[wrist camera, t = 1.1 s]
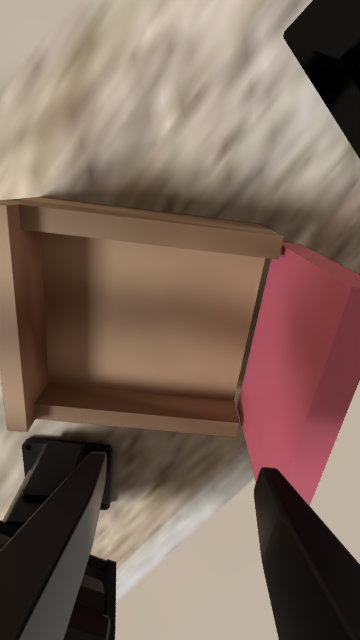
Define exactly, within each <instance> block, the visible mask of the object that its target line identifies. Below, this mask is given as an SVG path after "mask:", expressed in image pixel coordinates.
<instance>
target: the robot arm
mask: <svg viewBox="0 0 360 640" xmlns="http://www.w3.org/2000/svg"><path fill="white" fill-rule="evenodd" d="M30 445H31V446H30ZM22 452H23V462H24V471H25V479H24V481H23V483H22V485H21V487H20V489H19V490H18V492H17V494H16V496H15V498H14V500H13V502H12V504H11V506H10V507H9V509H8V511H7V513H6V515H5V517H4V519H3V521H1V520H0V640H115V612H116V610H115V609H116V606H115V605H116V562H114V561H112V560H109V559H108V560H104V559H101V558H99V557H96V556H93V555H91V554H90V552H91V549H92V545H93V540H94V536H95V531H96V526H97V521H98V516H99V511H100V510H107V509H108V508H109V507H110V502H111V482H112V460H113V449H112V447H110V446H108V445H101V444H89V443H78V442H67V441H56V440H45V439H34V438H28V439H26V440H25V441H24V443H23V445H22ZM105 452H107V453H105ZM254 500H255V509H256V517H257V526H258V534H259V542H260V550H261V558H262V563H263V569H264V574H265V578H266V583H267V587H268V592H269V597H270V600H271V606H272V610H273V615H274V619H275V624H276V628H277V633H278V637H279V640H360V564H359V563H358V562H357V561H356V559H355V558H354V557H353V556H352V555H351V554H350V552H349V551H348V550H347V549H346V548H345V547H344V546H343V544H342V543H341V542H340V541H339V540H338V539H337V538H336V536H335V535H334V534H333V533H332V532H331V531H330V529H329V528H328V527H327V526H326V525H325V524H324V522H323V521H322V520H321V519H320V518H319V517H318V515H317V514H316V513H315V512H314V511H313V510H312V508H311V507H310V506H309V505H308V504H307V503H306V501H305V500H304V499H303V498H302V497H301V496H300V494H299V493H298V492H297V491H296V490H295V489H294V487H293V486H292V485H291V484H290V483H289V482H288V480H287V479H286V478H285V477H284V476H283V475H282V473H281V472H280V471H279V470H278V469H276V468H272V467H262V468H261V469H260V471H259V474H258V478H257V481H256V485H255V489H254Z"/></svg>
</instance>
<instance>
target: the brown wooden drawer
mask: <svg viewBox="0 0 360 640" xmlns="http://www.w3.org/2000/svg"><path fill="white" fill-rule="evenodd" d="M283 239H284V236H283V235H281V234H279V233H277V232H275V231H273V230H271V229H269V228H267V227H265V226H263V225H261V224H256V223H248V222H240V221H232V220H223V219H215V218H207V217H199V216H191V215H183V214H174V213H166V212H158V211H150V210H142V209H133V208H125V207H117V206H109V205H101V204H93V203H84V202H76V201H68V200H60V199H52V198H43V197H33V198H22V199H11V200H0V375H1V383H2V391H3V400H4V408H5V416H6V424H7V430H8V431H19V432H28V430H29V428H30V427H31V425H32V424H33V422H34V420H35V419H41V420H52V421H63V422H74V423H85V424H96V425H106V426H117V427H128V428H139V429H150V430H161V431H172V432H182V433H193V434H204V435H215V436H226V437H236V435H237V431H238V427H239V420H238V416H237V412H236V408H235V403H234V397H235V392H236V388H237V383H238V379H239V374H240V370H241V365H242V361H243V356H244V352H245V347H246V343H247V338H248V334H249V329H250V325H251V320H252V316H253V311H254V307H255V302H256V298H257V293H258V289H259V284H260V280H261V275H262V271H263V266H264V262H265V258H268V259H277V260H279V255H280V251H281V247H282V243H283Z"/></svg>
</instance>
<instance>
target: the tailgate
mask: <svg viewBox="0 0 360 640" xmlns="http://www.w3.org/2000/svg"><path fill="white" fill-rule="evenodd" d="M359 380H360V275H359V274H358V273H356V272H354V271H352V270H350V269H348V268H346V267H344V266H342V265H340V264H338V263H336V262H334V261H332V260H330V259H328V258H326V257H324V256H322V255H320V254H318V253H316V252H314V251H312V250H310V249H308V248H306V247H304V246H302V245H300V244H294V243H286V242H283V243H282V247H281V251H280V255H279V260H277V259H271V262H270V267H269V271H268V275H267V280H266V284H265V288H264V293H263V297H262V301H261V306H260V310H259V314H258V319H257V323H256V327H255V332H254V336H253V340H252V345H251V349H250V354H249V358H248V362H247V367H246V371H245V375H244V380H243V384H242V388H241V393H240V397H239V401H238V406H237V409H238V413H239V417H240V421H241V425H242V429H243V433H244V437H245V441H246V445H247V449H248V453H249V457H250V460H251V464H252V468H253V472H254V476H255V480H256V481H257V478H258V474H259V471H260V469H261V468H262V467H272V468H276V469H278V470H279V471H280V472H281V473H282V475H283V476H284V477H285V478H286V479H287V480H288V482H289V483H290V484H291V485H292V486H293V487H294V489H295V490H296V491H297V492H298V493H299V494H300V496H301V497H302V498H303V499H304V500H305V501H306V503H307V504H308V505H310V503H311V501H312V498H313V495H314V493H315V491H316V488H317V485H318V483H319V480H320V478H321V475H322V473H323V470H324V468H325V465H326V463H327V460H328V458H329V455H330V453H331V450H332V448H333V445H334V443H335V440H336V438H337V435H338V433H339V430H340V428H341V425H342V423H343V420H344V418H345V415H346V413H347V410H348V408H349V405H350V403H351V400H352V398H353V395H354V393H355V390H356V388H357V385H358V383H359Z"/></svg>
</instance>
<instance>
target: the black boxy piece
mask: <svg viewBox="0 0 360 640" xmlns="http://www.w3.org/2000/svg"><path fill="white" fill-rule="evenodd" d="M283 37H284V39H285V41H286V43H287V44H288V46H289V47H290V49H291V50H292V52H293V54H294V55H295V57H296V58H297V60H298V62H299V63H300V65H301V66H302V68H303V69H304V71H305V73H306V74H307V76H308V77H309V79H310V81H311V82H312V84H313V85H314V87H315V88H316V90H317V92H318V93H319V95H320V96H321V98H322V100H323V101H324V103H325V104H326V106H327V107H328V109H329V111H330V112H331V114H332V115H333V117H334V119H335V120H336V122H337V123H338V125H339V127H340V128H341V130H342V131H343V133H344V134H345V136H346V138H347V139H348V141H349V142H350V144H351V146H352V147H353V149H354V150H355V152H356V153H357V155H358V157H359V158H360V0H313V1H312V2H311V3H310V4H309V5H308V6H307V7H306V9H305V10H304V11H303V12H302V13H301V14H300V15H299V16H298V17H297V18H296V20H295V21H294V22H293V23H292V24H291V25H290V26H289V27H288V28H287V29H286V31H285V32H284V35H283Z"/></svg>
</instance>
